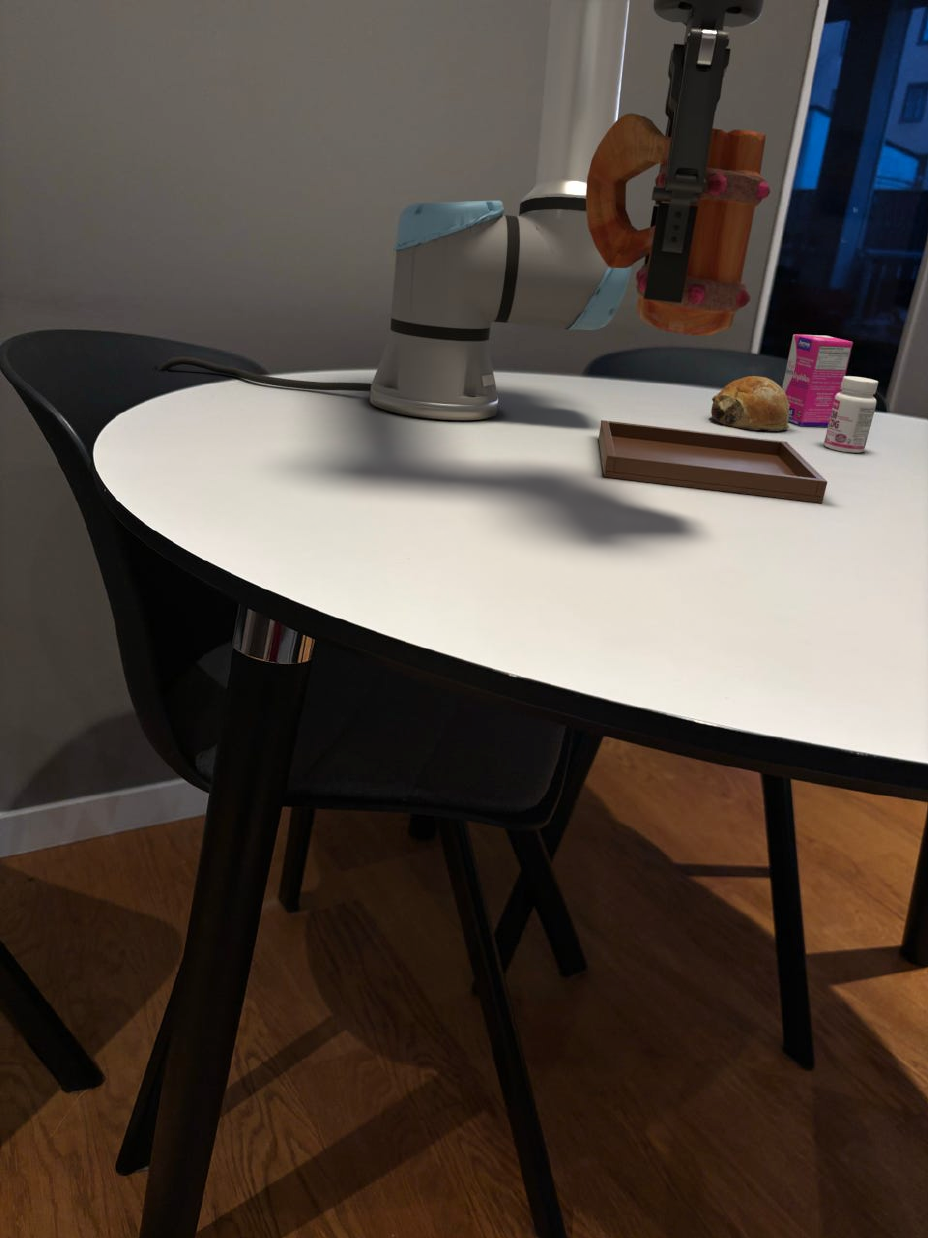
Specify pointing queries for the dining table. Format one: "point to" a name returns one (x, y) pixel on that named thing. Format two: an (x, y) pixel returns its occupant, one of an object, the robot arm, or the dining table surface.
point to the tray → (707, 461)
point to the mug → (717, 224)
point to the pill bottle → (851, 415)
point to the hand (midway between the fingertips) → (659, 296)
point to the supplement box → (814, 377)
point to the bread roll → (752, 405)
